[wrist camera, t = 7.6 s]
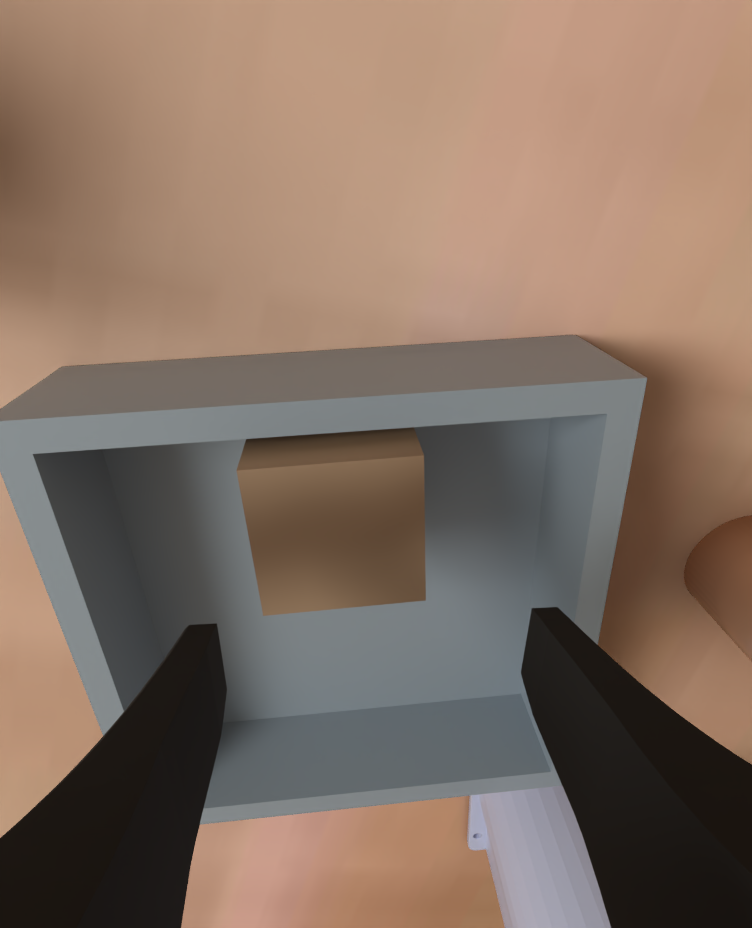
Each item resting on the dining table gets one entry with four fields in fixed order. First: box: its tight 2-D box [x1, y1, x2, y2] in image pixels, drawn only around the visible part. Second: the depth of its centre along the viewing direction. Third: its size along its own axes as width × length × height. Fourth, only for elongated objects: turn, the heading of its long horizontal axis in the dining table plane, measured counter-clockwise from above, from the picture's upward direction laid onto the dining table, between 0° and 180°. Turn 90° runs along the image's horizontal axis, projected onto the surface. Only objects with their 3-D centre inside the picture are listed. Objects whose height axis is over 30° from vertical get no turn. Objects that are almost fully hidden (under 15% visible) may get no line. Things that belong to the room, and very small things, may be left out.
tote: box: [0, 335, 647, 824], centre depth 21 cm, size 18×18×5 cm
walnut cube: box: [236, 427, 426, 616], centre depth 18 cm, size 5×5×5 cm
